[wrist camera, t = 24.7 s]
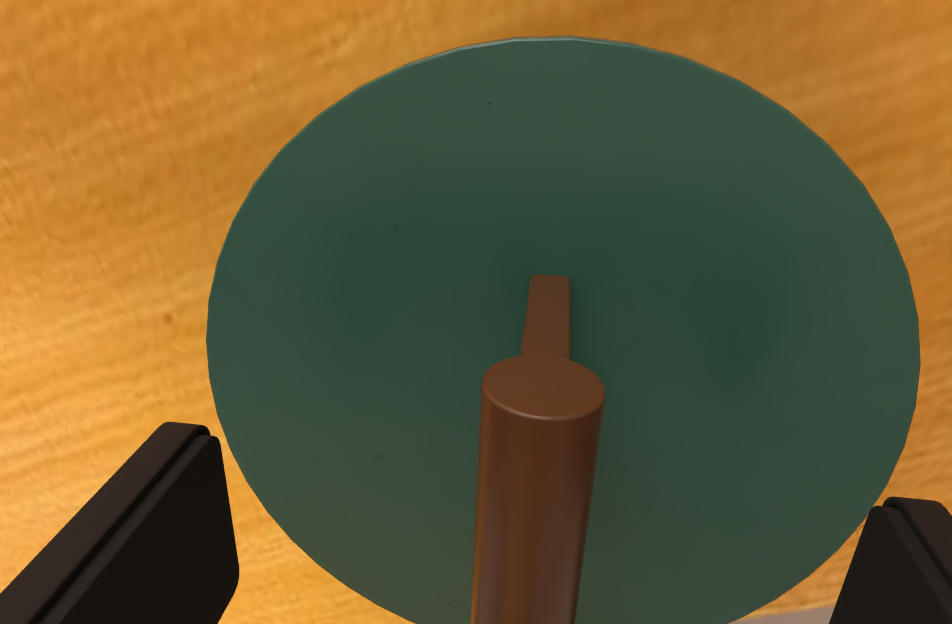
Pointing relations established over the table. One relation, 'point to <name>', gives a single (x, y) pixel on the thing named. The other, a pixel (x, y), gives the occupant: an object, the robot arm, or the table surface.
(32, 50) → the table surface
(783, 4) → the table surface
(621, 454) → the lid
